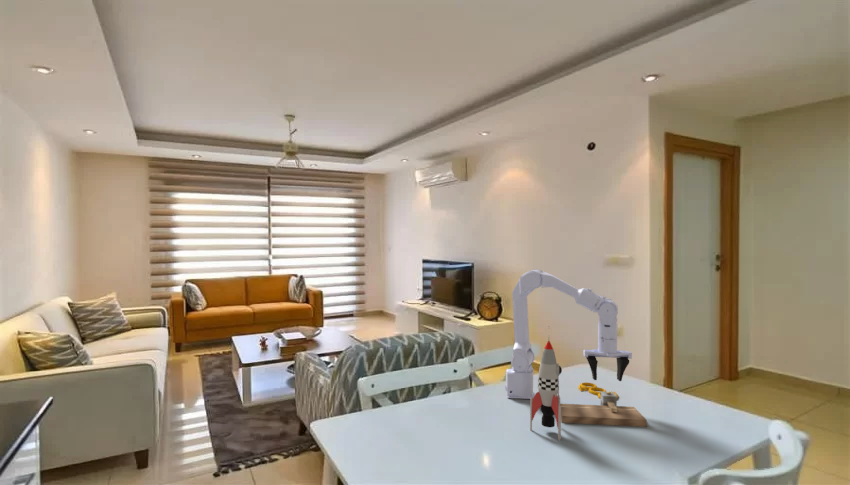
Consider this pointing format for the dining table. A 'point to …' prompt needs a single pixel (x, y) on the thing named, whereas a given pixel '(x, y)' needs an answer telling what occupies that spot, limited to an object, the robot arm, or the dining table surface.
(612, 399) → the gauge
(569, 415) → the board
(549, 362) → the toy
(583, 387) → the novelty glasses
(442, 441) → the dining table surface
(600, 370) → the dining table surface
